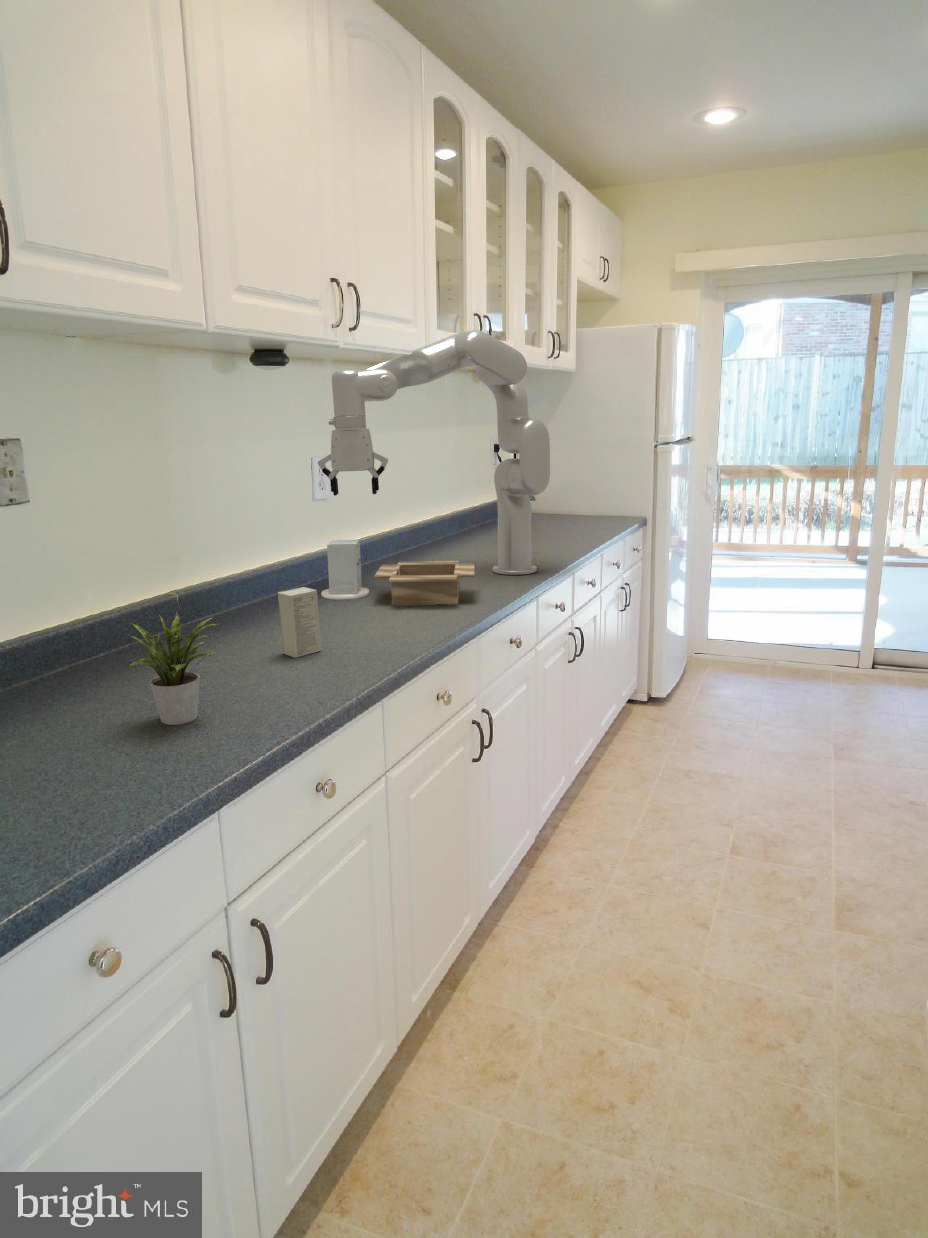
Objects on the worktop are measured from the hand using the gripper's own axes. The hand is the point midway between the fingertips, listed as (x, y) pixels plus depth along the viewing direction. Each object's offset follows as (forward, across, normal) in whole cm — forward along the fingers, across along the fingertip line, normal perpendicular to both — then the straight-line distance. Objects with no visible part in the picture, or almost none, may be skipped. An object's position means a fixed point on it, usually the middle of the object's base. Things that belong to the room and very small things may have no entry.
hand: (355, 494), depth 201 cm
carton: (+25, +17, -7) cm, 31 cm away
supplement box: (+24, -4, -2) cm, 25 cm away
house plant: (+24, -14, -89) cm, 93 cm away
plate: (+25, -4, -2) cm, 25 cm away
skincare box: (+24, -4, -54) cm, 60 cm away
